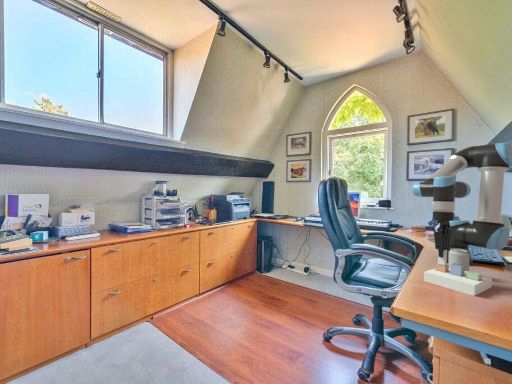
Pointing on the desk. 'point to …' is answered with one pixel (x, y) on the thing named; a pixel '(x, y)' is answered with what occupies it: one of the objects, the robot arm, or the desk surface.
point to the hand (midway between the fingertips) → (441, 264)
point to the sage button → (474, 276)
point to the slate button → (457, 269)
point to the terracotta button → (442, 268)
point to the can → (459, 257)
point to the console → (458, 282)
